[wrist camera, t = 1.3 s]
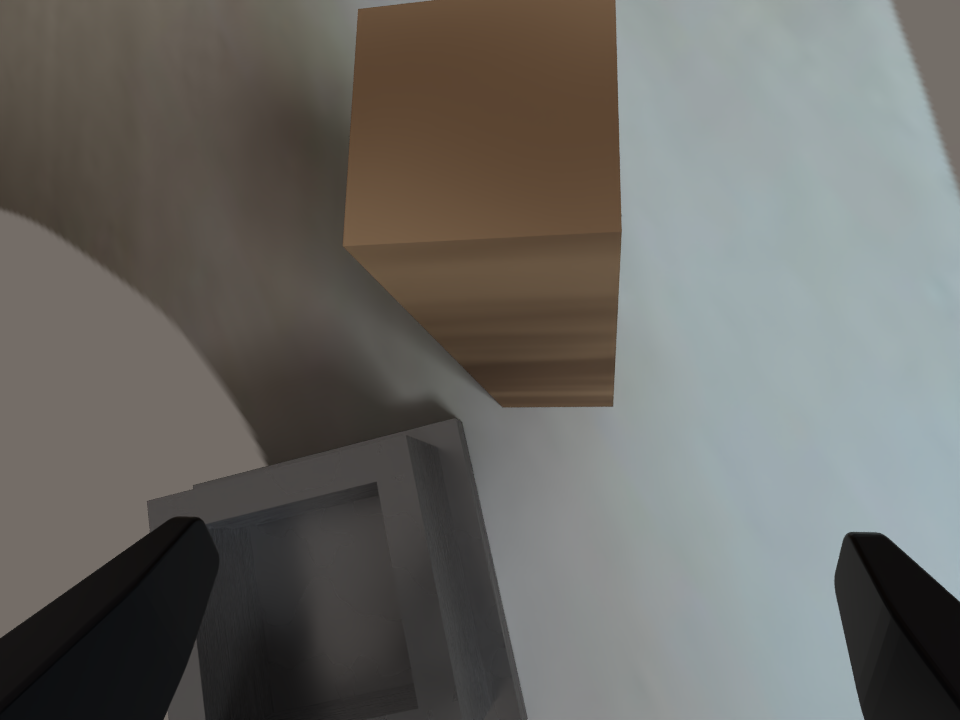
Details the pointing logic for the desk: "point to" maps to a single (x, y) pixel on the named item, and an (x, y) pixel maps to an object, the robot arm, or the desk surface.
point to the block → (494, 186)
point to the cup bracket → (350, 589)
